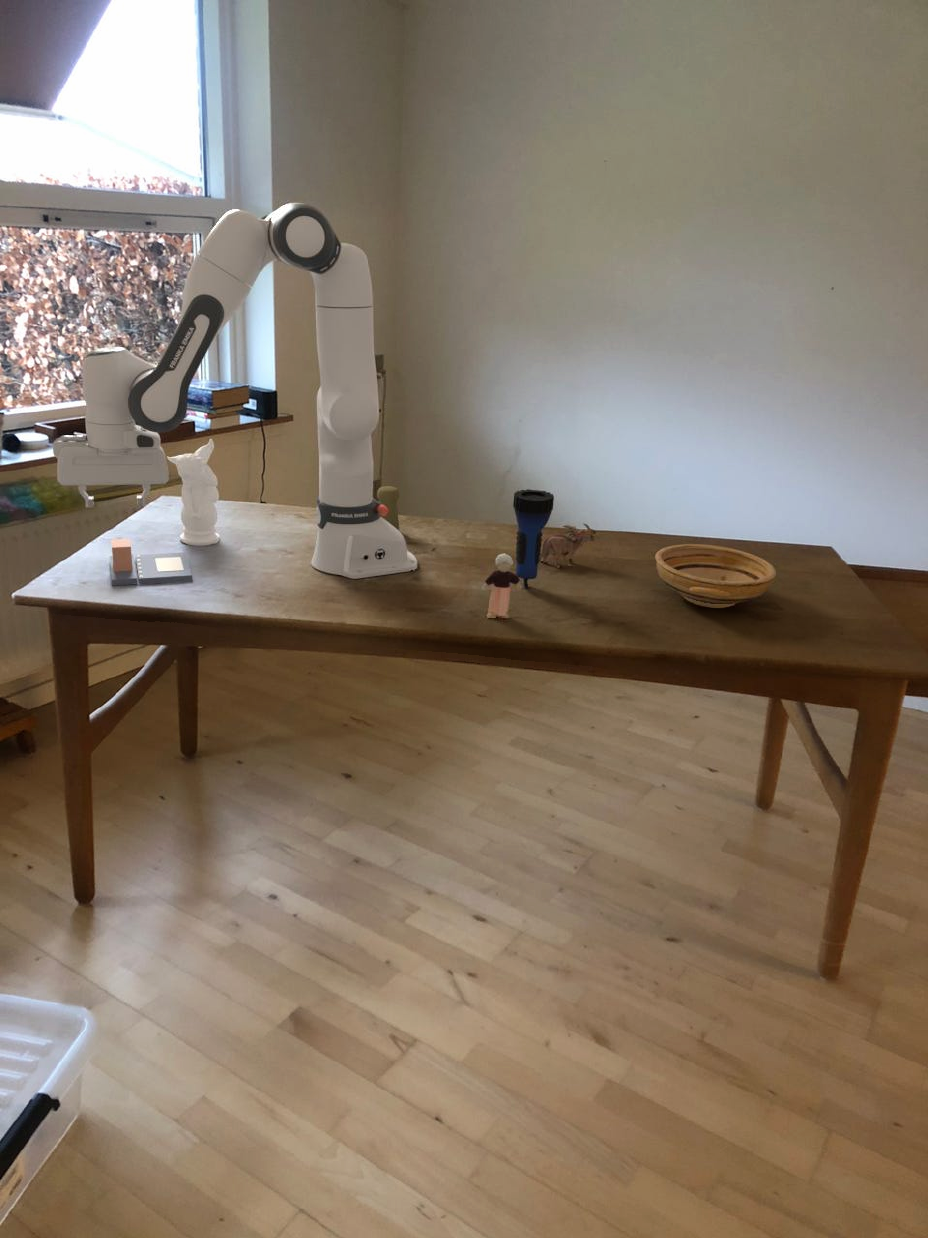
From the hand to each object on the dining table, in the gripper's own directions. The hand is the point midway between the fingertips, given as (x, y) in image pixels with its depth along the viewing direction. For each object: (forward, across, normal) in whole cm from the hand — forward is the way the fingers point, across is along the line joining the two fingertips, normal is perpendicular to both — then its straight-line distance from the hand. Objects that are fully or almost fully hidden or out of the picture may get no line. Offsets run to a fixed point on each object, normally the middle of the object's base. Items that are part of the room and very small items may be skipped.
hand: (115, 506), depth 186 cm
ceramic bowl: (+12, +114, -37) cm, 121 cm away
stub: (+14, +1, 0) cm, 14 cm away
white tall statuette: (+14, +16, +20) cm, 29 cm away
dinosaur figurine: (+13, +92, -11) cm, 94 cm away
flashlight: (+13, +78, -24) cm, 83 cm away
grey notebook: (+14, +8, 0) cm, 16 cm away
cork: (+13, +60, +17) cm, 64 cm away
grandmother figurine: (+13, +67, -37) cm, 78 cm away
